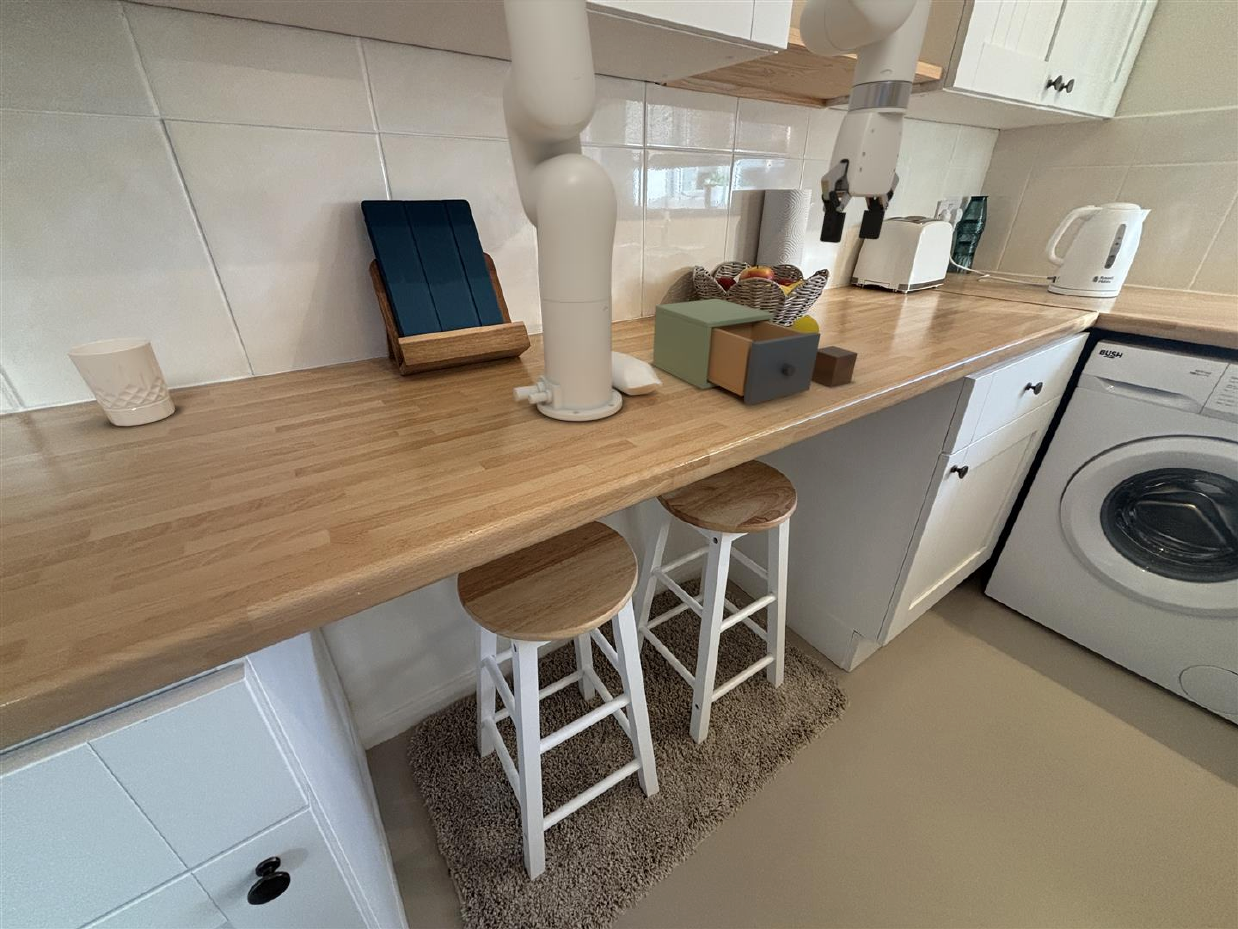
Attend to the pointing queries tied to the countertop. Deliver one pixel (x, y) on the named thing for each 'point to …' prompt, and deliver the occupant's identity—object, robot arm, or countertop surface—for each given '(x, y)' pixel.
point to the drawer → (761, 359)
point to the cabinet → (694, 335)
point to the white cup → (124, 379)
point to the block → (834, 366)
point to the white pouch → (633, 375)
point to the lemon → (806, 325)
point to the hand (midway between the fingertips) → (849, 240)
